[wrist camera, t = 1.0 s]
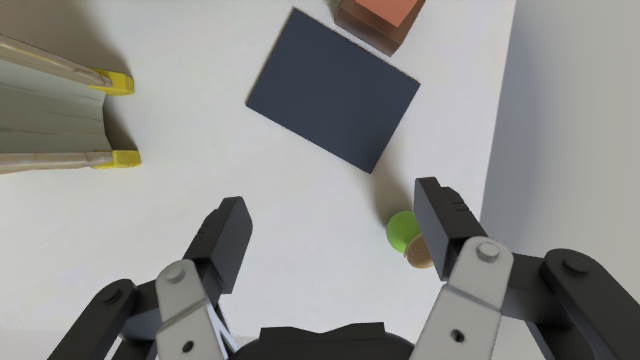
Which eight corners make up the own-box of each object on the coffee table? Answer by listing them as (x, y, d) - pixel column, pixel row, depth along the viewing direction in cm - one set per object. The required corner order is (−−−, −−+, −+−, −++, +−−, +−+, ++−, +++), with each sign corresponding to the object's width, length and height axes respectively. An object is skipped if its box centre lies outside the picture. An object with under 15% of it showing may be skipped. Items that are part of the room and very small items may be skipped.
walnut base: (334, 24, 32) (338, 6, 28) (366, -38, 31) (375, -65, 27) (390, 57, 33) (401, 44, 29) (422, -2, 32) (438, -23, 28)
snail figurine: (434, 222, 35) (498, 259, 23) (398, 253, 36) (443, 304, 24) (409, 193, 35) (462, 215, 23) (373, 224, 35) (406, 263, 23)
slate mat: (246, 106, 32) (245, 105, 32) (294, 10, 31) (294, 8, 31) (369, 173, 34) (370, 174, 34) (419, 84, 33) (420, 83, 33)
